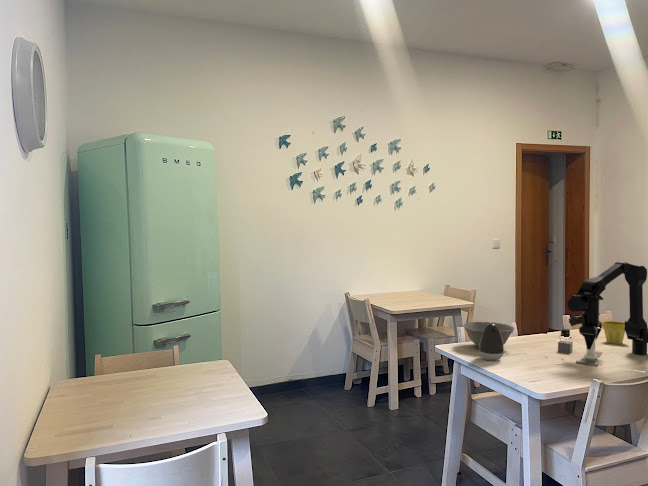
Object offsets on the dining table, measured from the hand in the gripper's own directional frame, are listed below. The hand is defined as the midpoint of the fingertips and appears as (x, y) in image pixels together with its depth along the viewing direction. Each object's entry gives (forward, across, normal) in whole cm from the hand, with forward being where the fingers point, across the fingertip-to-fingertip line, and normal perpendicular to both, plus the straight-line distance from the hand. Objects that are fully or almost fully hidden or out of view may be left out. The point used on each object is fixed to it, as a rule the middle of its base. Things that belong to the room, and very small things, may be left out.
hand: (590, 347), depth 212 cm
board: (+5, -3, 0) cm, 6 cm away
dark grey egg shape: (+6, +25, -34) cm, 43 cm away
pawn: (+5, 0, 0) cm, 5 cm away
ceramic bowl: (+6, +5, -42) cm, 43 cm away
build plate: (+6, -41, -17) cm, 45 cm away
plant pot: (+6, -43, +4) cm, 44 cm away
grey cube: (+6, -6, -11) cm, 14 cm away
